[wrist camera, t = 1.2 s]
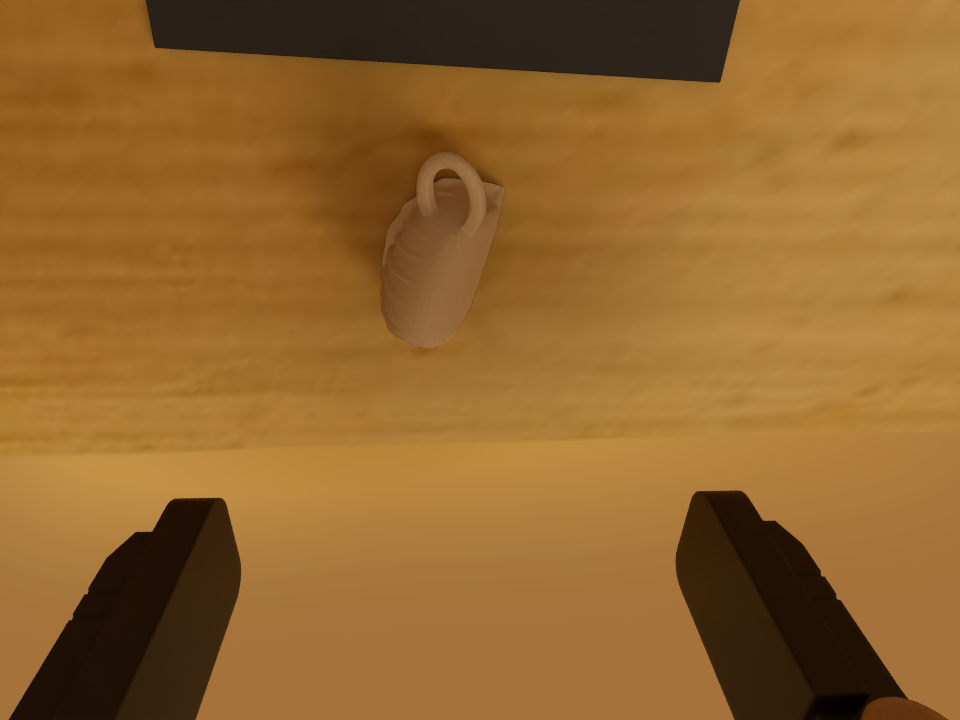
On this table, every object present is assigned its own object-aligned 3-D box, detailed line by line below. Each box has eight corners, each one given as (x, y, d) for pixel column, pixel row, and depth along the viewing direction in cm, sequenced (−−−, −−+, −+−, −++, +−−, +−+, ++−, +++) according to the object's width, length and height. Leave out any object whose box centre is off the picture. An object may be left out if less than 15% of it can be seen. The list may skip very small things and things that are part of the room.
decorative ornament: (367, 308, 26) (352, 373, 21) (422, 115, 22) (419, 143, 18) (454, 333, 27) (459, 400, 22) (523, 152, 23) (545, 188, 19)
